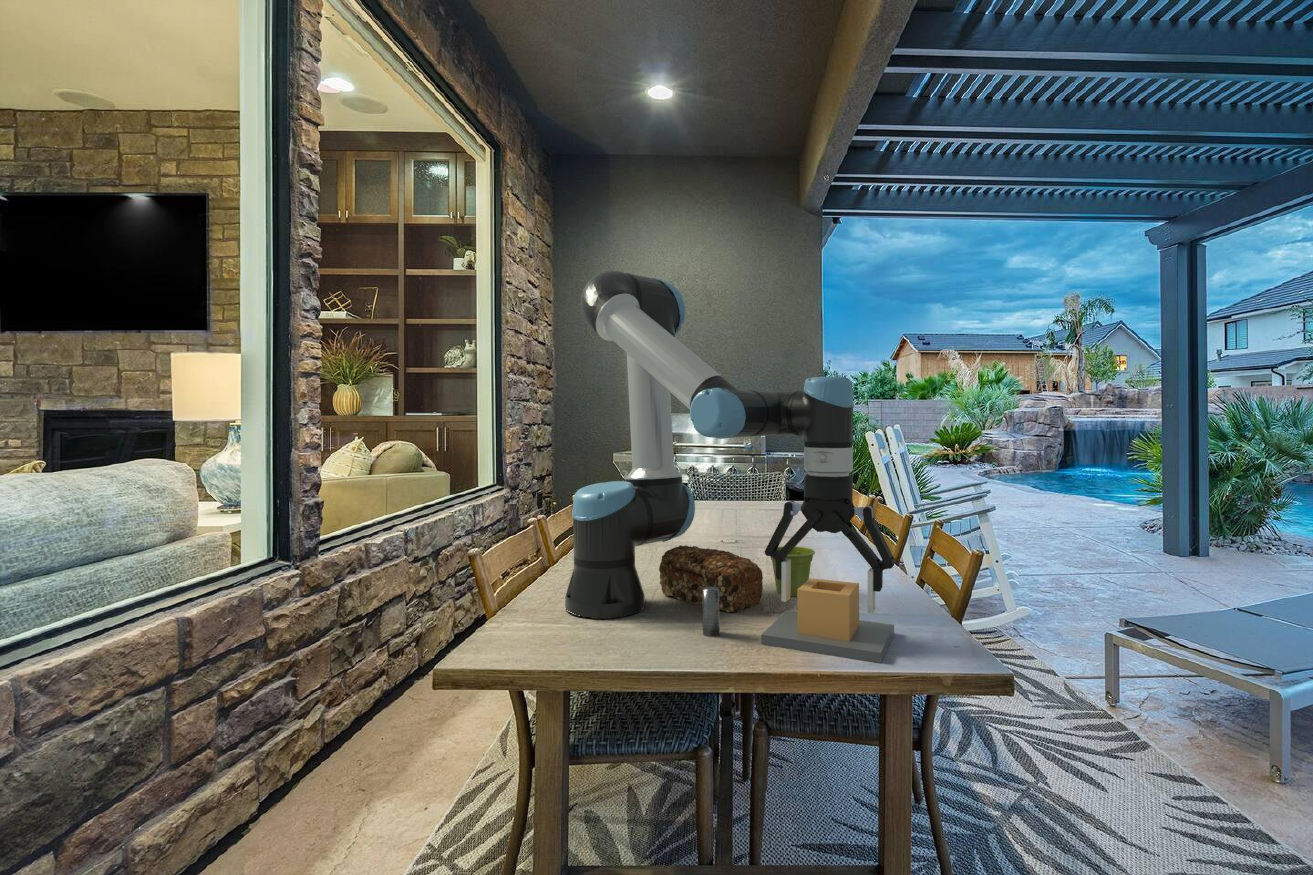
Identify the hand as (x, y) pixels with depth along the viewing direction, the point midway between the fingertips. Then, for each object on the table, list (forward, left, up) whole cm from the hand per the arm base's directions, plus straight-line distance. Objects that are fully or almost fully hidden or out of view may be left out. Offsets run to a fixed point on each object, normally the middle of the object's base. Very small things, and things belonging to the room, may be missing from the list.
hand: (827, 605), depth 103 cm
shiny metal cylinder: (-18, -6, -5) cm, 20 cm away
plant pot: (-13, +24, -6) cm, 28 cm away
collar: (0, 0, -4) cm, 4 cm away
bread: (-26, +12, -6) cm, 29 cm away
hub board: (0, 0, -5) cm, 5 cm away
